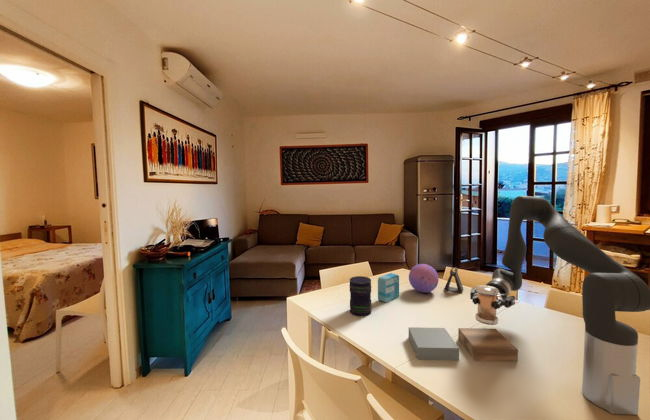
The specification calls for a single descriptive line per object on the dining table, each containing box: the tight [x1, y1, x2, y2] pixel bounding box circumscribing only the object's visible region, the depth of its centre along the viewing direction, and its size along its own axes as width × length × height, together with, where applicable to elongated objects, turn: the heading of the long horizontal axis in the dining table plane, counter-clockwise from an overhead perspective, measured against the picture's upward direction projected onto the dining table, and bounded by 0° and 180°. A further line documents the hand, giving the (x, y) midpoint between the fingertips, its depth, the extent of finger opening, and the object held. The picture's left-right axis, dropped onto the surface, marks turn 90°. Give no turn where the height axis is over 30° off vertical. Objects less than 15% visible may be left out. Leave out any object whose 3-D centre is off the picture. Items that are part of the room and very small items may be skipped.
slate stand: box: [408, 326, 460, 361], centre depth 95 cm, size 13×13×4 cm
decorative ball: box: [408, 263, 439, 294], centre depth 146 cm, size 15×15×15 cm
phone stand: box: [443, 266, 464, 294], centre depth 148 cm, size 9×6×12 cm, turn 57°
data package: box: [377, 272, 400, 304], centre depth 138 cm, size 12×4×12 cm, turn 131°
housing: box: [475, 284, 499, 326], centre depth 92 cm, size 7×7×11 cm
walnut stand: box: [457, 327, 519, 362], centre depth 93 cm, size 13×13×4 cm
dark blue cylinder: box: [349, 275, 372, 318], centre depth 124 cm, size 10×10×15 cm
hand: (484, 303), depth 90 cm, fingers closed on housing, 5 cm apart
